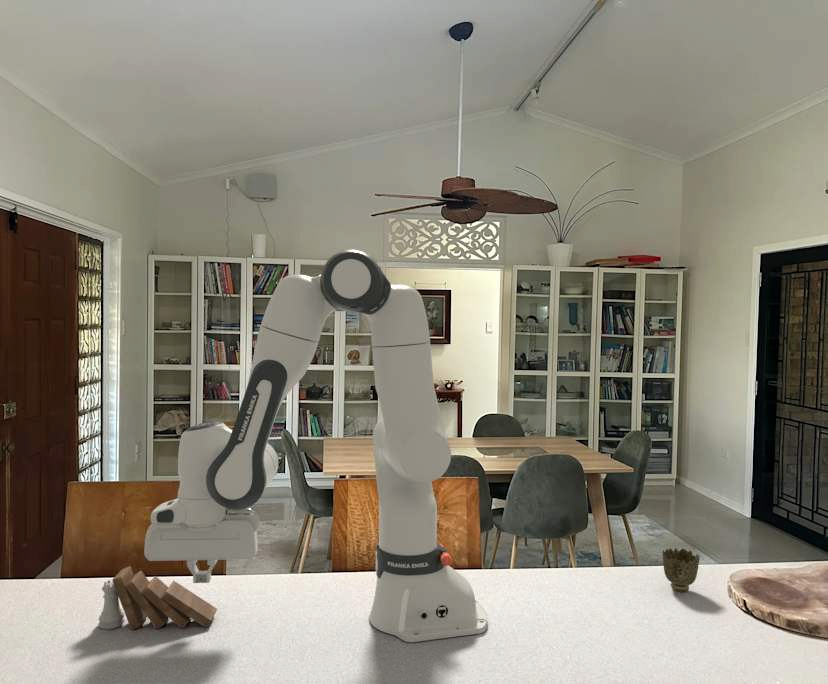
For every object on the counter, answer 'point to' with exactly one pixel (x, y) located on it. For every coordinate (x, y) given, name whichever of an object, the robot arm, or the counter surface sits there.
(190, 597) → the domino
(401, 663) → the counter surface
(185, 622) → the domino
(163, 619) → the domino
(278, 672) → the counter surface
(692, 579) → the cup
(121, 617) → the rook chess piece
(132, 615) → the domino
